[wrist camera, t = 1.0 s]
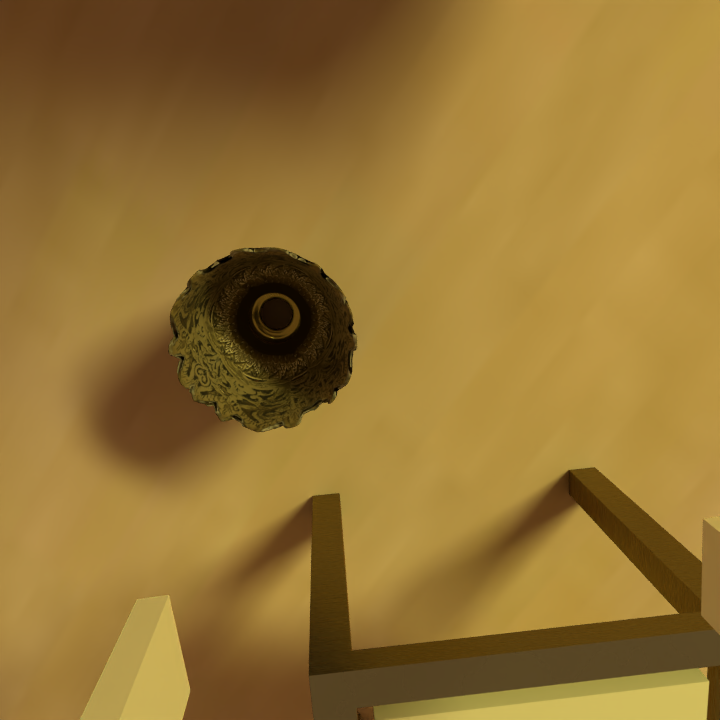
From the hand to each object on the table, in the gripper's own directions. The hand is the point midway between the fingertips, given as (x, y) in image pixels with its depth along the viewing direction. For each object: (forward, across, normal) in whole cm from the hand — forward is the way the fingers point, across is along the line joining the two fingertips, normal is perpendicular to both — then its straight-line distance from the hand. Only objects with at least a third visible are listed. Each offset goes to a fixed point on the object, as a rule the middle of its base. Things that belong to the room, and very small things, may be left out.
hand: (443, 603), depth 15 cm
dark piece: (+19, -5, +5) cm, 20 cm away
